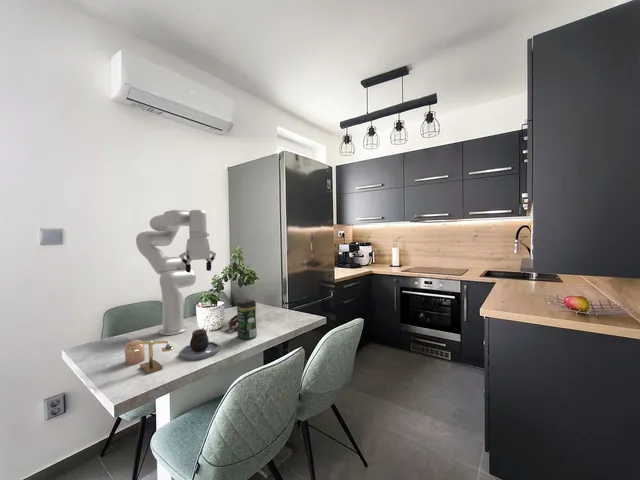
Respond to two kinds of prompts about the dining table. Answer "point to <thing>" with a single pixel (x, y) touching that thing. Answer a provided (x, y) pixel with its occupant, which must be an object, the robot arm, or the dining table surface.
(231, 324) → the pottery mug
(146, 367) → the balance
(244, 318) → the coffee jar
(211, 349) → the dish
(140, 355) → the terracotta cup
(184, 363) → the dining table surface
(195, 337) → the mate gourd
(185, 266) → the robot arm
